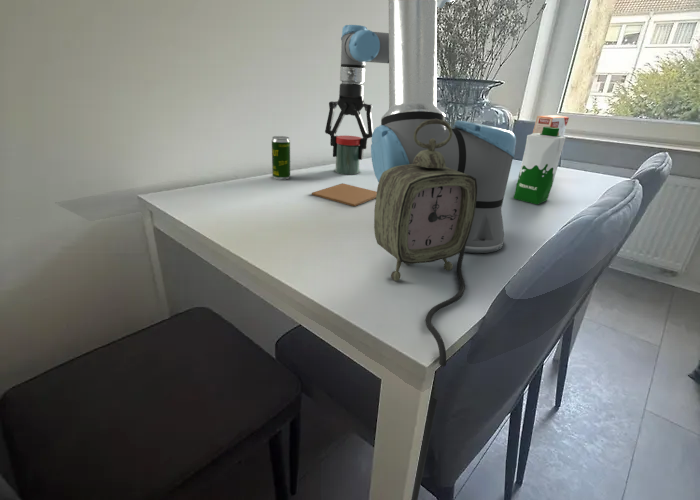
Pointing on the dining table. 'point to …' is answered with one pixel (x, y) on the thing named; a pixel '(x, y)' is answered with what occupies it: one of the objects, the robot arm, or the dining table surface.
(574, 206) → the dining table surface
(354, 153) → the jar
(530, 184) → the milk carton
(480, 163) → the robot arm
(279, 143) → the beer can
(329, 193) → the mat
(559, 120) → the cracker box
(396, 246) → the tabletop clock
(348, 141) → the lid
